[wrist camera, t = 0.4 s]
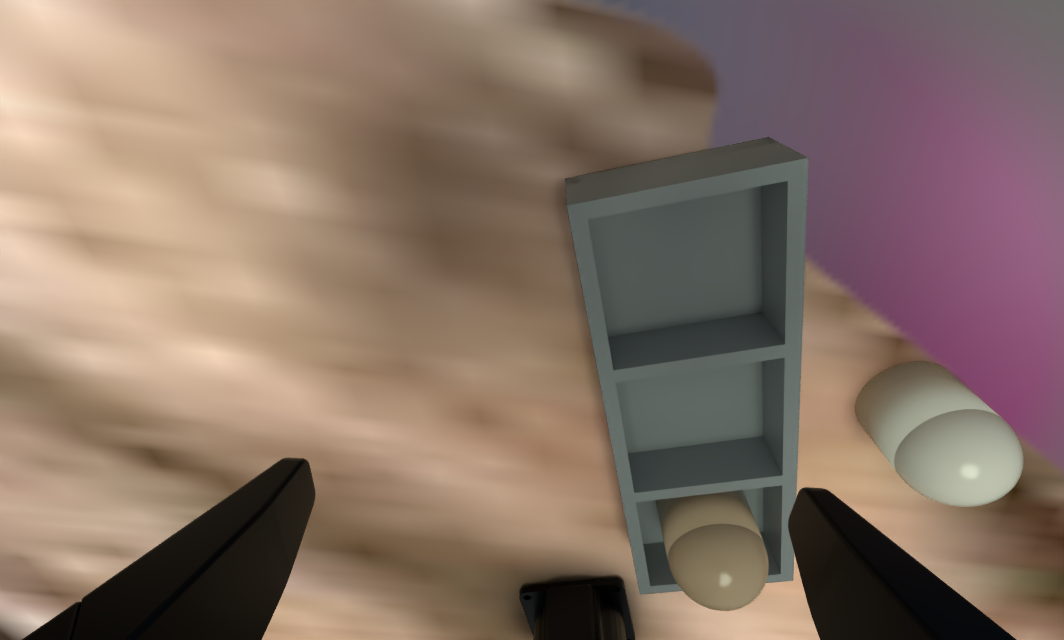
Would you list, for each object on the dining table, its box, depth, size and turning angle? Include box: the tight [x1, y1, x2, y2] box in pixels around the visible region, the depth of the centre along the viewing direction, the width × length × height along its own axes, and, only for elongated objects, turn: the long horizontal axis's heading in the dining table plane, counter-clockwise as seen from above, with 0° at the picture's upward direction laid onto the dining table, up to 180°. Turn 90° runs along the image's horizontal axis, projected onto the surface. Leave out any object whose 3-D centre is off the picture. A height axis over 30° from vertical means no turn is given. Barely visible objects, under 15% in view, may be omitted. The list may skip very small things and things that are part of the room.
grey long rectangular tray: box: [565, 137, 809, 595], centre depth 23 cm, size 21×8×4 cm, turn 12°
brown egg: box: [656, 490, 769, 611], centre depth 25 cm, size 4×4×6 cm
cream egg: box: [855, 361, 1023, 507], centre depth 22 cm, size 4×4×6 cm
